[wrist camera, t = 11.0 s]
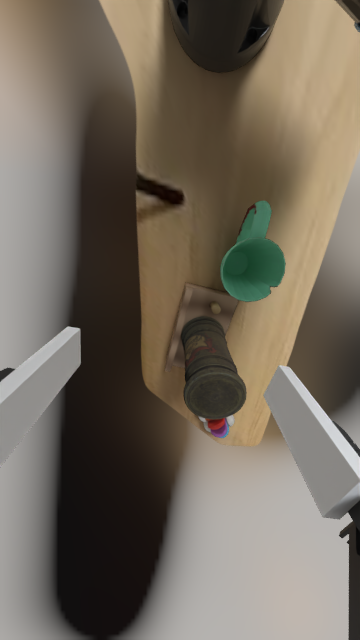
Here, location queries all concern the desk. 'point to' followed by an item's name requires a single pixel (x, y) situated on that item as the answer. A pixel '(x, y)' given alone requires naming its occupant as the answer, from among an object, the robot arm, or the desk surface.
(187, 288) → the ledge
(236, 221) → the desk surface
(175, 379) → the desk surface
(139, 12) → the desk surface
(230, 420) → the rainbow striped lobed toy
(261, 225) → the mug
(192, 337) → the container
